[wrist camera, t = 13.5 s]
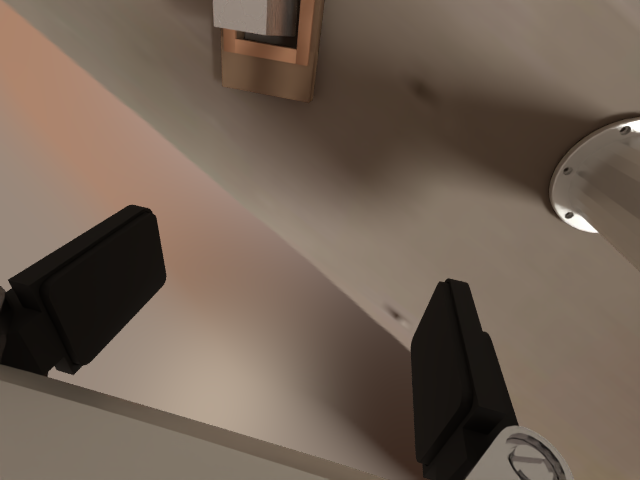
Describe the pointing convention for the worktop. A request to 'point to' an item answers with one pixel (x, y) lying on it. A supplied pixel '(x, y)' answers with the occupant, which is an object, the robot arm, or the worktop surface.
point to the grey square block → (257, 16)
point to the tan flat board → (275, 59)
